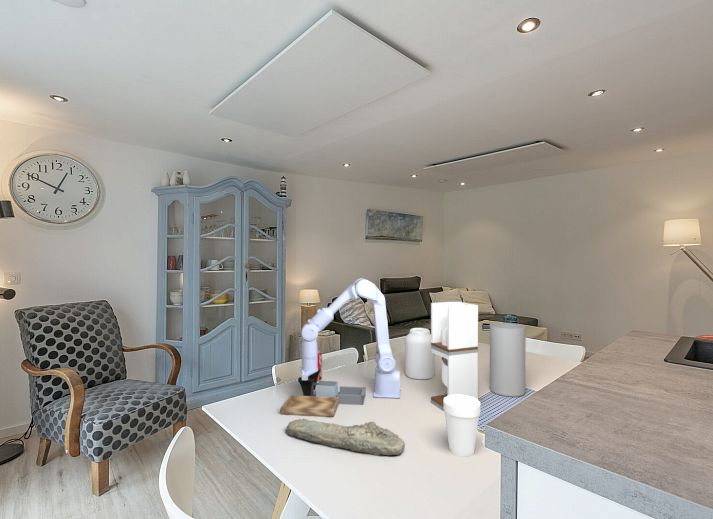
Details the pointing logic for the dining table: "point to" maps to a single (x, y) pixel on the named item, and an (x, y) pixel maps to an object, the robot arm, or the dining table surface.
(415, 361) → the white jar
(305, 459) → the dining table surface
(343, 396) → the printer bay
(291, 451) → the dining table surface
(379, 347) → the robot arm
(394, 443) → the long grey stone
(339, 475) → the dining table surface
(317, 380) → the soda can
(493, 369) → the cylinder vase
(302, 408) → the tray
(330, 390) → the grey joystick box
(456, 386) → the white shelf unit
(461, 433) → the foam cup
